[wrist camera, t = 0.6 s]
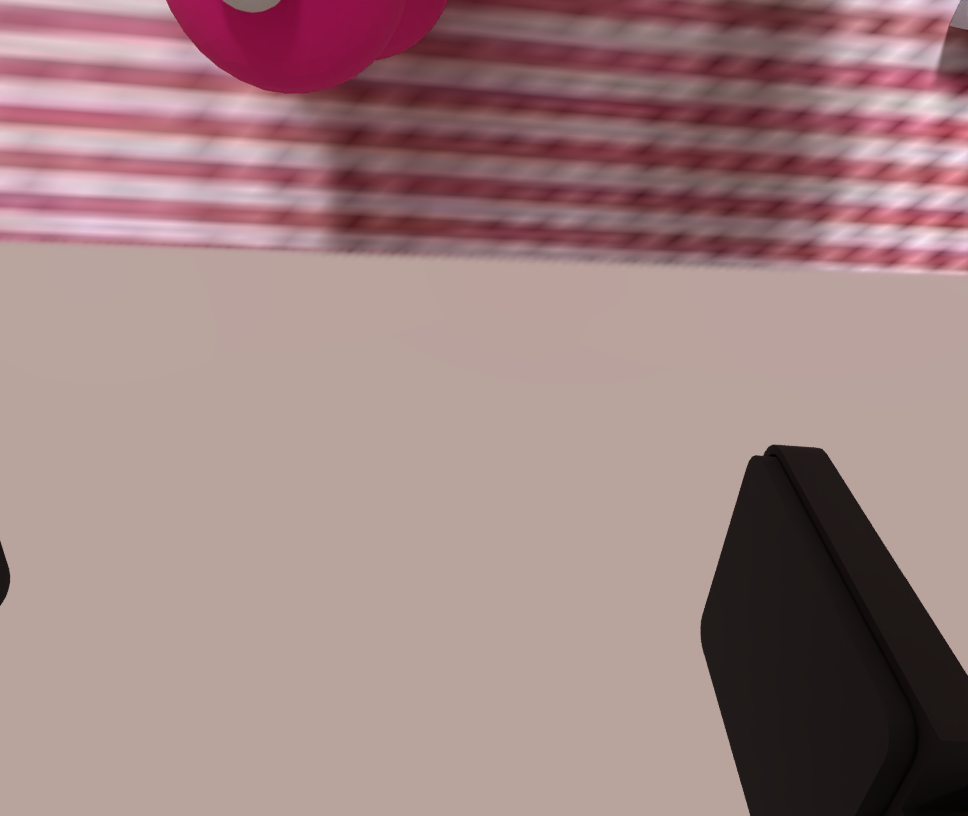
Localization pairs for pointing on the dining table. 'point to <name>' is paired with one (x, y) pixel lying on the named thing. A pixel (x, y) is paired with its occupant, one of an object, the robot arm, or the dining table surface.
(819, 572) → the robot arm
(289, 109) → the dining table surface
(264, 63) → the pepper mill
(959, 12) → the dish
